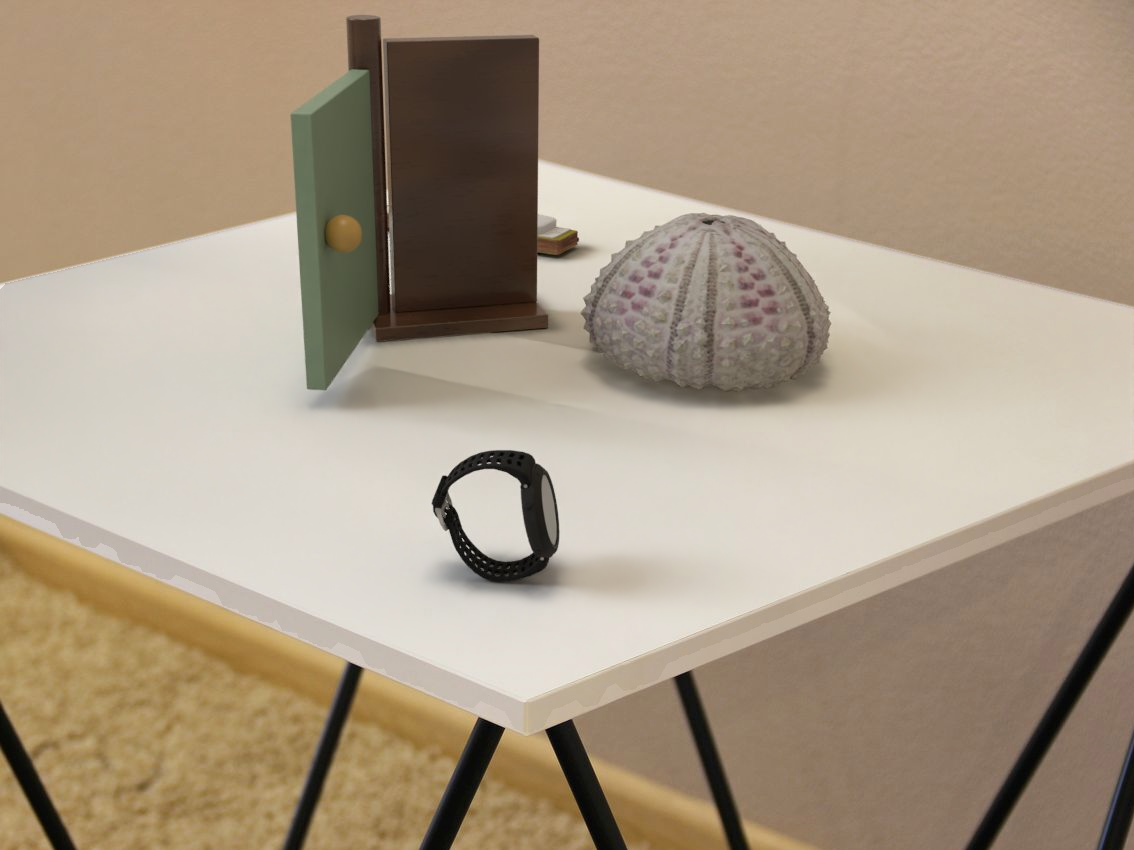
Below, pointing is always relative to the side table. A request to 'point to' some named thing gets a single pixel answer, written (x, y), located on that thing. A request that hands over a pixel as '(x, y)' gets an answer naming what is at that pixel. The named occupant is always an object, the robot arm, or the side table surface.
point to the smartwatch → (535, 509)
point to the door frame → (453, 180)
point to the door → (335, 223)
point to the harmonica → (549, 236)
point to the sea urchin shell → (708, 306)
